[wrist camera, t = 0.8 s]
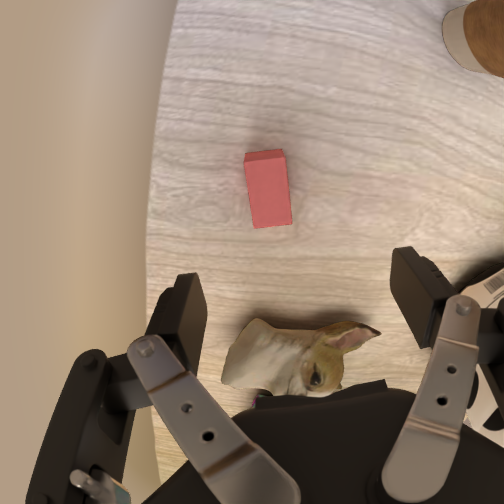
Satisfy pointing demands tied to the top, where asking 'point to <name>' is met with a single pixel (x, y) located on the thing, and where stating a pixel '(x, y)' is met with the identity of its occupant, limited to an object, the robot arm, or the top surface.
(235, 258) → the top surface
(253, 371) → the ceramic sculpture
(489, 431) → the milk container
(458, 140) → the top surface
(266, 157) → the eraser
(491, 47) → the coffee cup
